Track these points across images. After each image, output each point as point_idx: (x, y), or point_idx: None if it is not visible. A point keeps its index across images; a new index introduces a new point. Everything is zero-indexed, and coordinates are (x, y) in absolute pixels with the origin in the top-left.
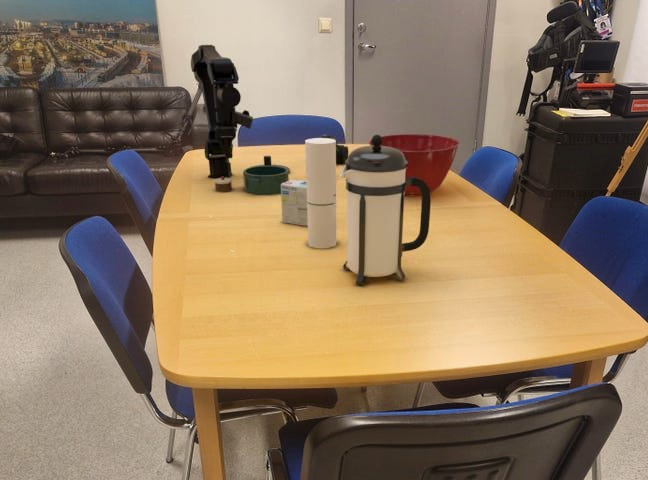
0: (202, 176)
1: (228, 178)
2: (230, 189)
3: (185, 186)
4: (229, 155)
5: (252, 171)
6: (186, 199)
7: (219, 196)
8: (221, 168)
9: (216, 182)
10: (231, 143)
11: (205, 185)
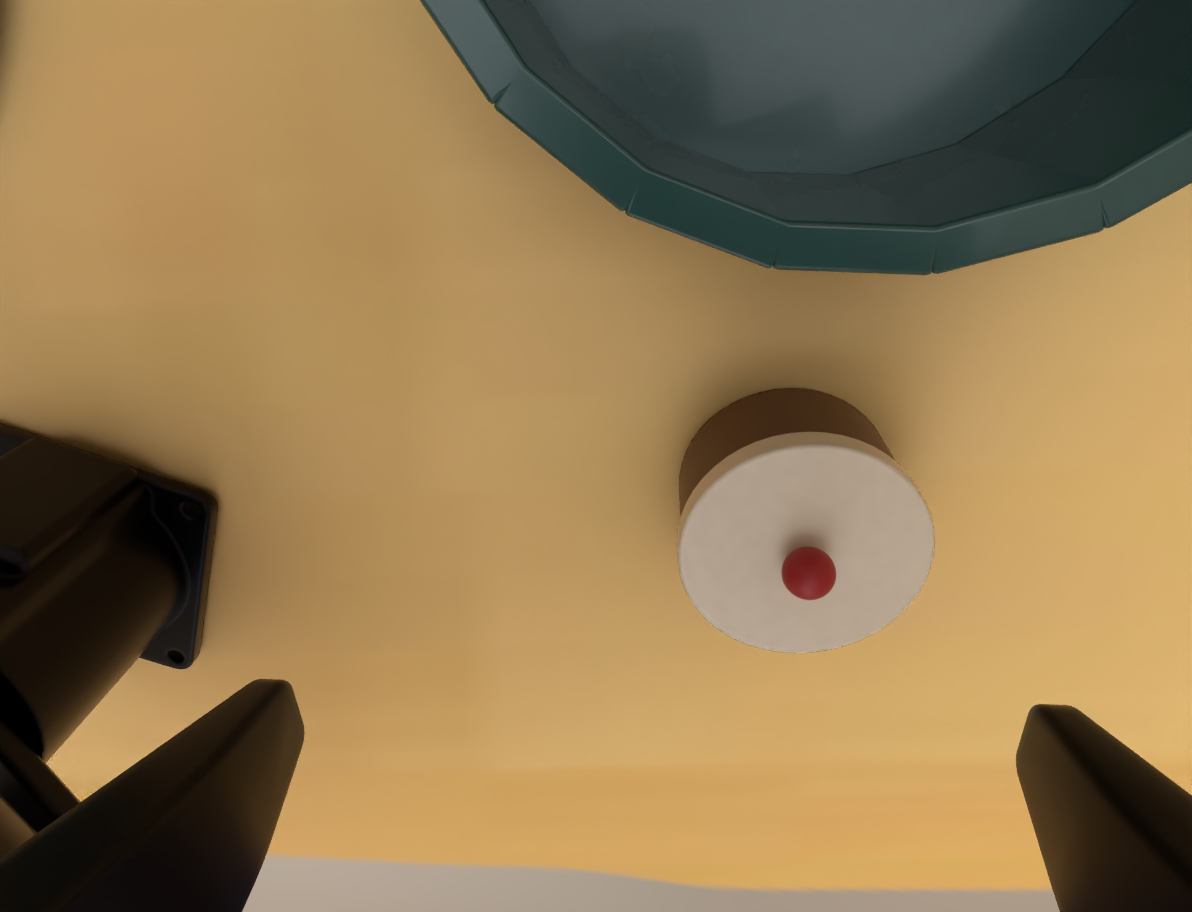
0: (152, 704)
1: (736, 488)
2: (851, 408)
3: (571, 812)
4: (1136, 773)
5: (546, 70)
6: None
7: (1089, 516)
8: (107, 594)
9: (875, 620)
10: (115, 874)
11: (537, 667)
